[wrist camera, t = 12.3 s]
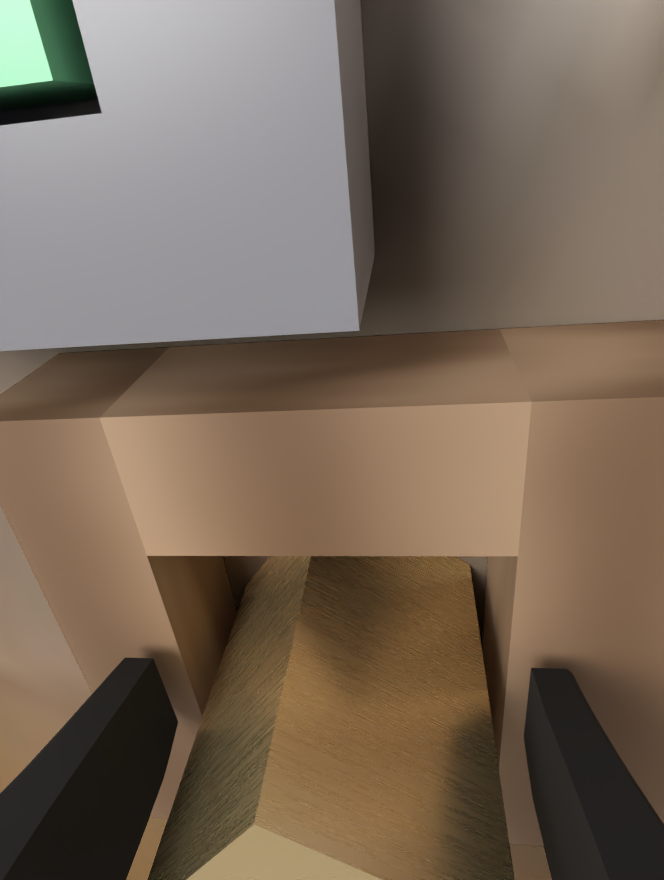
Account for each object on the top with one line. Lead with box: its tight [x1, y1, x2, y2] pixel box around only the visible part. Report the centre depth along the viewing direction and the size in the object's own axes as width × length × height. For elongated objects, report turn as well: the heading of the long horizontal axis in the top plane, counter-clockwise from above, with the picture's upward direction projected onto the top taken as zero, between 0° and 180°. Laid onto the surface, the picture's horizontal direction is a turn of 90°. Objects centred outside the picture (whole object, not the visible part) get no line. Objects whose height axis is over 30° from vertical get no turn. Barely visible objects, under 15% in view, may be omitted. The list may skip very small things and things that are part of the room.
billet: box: [148, 556, 514, 880], centre depth 11 cm, size 4×4×7 cm
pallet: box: [0, 320, 664, 847], centre depth 12 cm, size 22×12×3 cm, turn 96°
